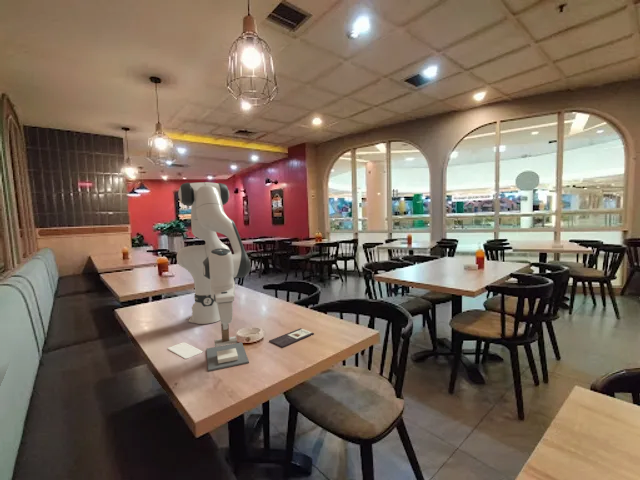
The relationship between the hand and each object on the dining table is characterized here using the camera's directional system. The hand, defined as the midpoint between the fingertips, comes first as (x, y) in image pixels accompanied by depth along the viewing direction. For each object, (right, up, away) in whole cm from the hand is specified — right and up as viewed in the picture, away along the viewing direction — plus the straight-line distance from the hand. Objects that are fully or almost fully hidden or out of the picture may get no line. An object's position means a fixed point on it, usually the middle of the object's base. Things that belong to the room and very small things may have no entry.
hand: (224, 327), depth 115 cm
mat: (0, -11, +1) cm, 11 cm away
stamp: (0, -6, +1) cm, 6 cm away
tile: (+2, -10, -2) cm, 10 cm away
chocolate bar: (+24, -10, +16) cm, 31 cm away
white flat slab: (-18, -12, +6) cm, 22 cm away
